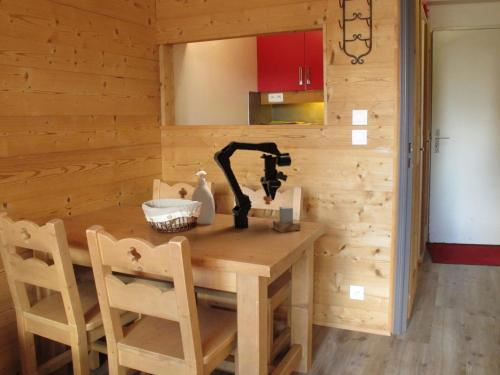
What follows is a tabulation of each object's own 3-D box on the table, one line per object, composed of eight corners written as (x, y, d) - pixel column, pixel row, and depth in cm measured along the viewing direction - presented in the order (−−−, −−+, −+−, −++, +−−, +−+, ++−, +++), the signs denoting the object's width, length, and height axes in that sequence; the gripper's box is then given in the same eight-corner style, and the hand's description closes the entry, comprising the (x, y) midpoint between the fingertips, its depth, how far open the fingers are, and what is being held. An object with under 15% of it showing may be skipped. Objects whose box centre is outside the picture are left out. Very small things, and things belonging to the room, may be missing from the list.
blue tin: (282, 223, 234) (282, 208, 233) (279, 221, 239) (279, 207, 238) (292, 222, 235) (292, 208, 234) (289, 220, 240) (289, 206, 239)
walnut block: (280, 233, 232) (280, 224, 231) (272, 228, 241) (272, 220, 241) (300, 231, 235) (300, 222, 234) (292, 227, 244) (291, 219, 244)
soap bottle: (186, 223, 255) (184, 171, 251) (196, 220, 261) (194, 169, 258) (208, 226, 247) (206, 172, 243) (218, 223, 253) (217, 170, 250)
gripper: (291, 168, 238) (291, 200, 240) (280, 164, 256) (281, 194, 258) (268, 169, 236) (269, 201, 238) (259, 165, 254) (260, 196, 256)
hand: (270, 198), depth 248 cm, fingers open, 9 cm apart
